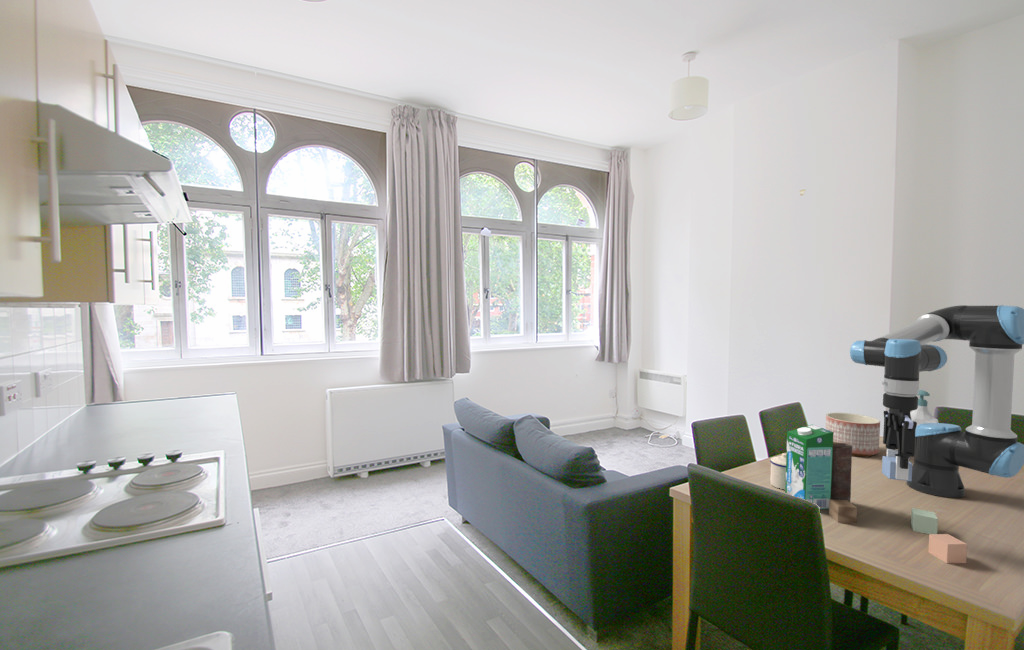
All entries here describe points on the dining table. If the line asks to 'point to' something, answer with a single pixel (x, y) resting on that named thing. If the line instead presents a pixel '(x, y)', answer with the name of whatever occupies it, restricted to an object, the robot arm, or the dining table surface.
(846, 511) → the walnut cube
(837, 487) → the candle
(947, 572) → the dining table surface
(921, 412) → the soap bottle
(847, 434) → the planter
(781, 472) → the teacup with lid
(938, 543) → the terracotta cube
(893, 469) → the slate blue cube
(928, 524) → the sage cube
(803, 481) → the milk carton
